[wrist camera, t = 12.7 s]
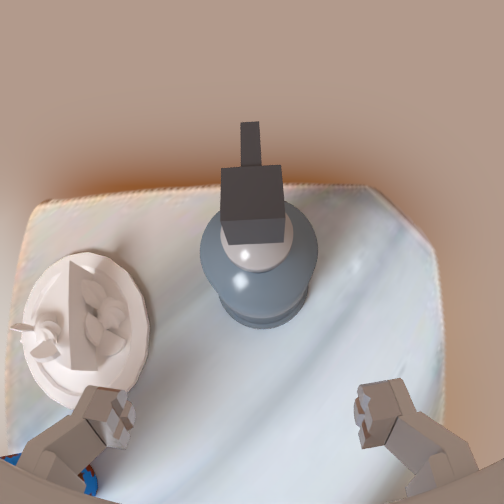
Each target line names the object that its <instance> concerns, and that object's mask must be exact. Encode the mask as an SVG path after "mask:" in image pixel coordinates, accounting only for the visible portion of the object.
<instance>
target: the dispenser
mask: <svg viewBox="0 0 504 504" xmlns="http://www.w3.org/2000/svg"><path fill="white" fill-rule="evenodd" d="M284 204H285V216H286V220H285V232H284V243H265V244H244V245H228V242H227V239H226V237H225V234H224V231H223V228H222V225H221V223H220V211H219V212H217V213H216V215H215V216H214V217H213V218H212V219H211V220H210V222H209V223H208V225H207V227H206V229H205V231H204V233H203V236H202V240H201V245H200V259H201V265H202V268H203V271H204V273H205V275H206V277H207V279H208V280H209V282H210V283H211V285H212V286H213V288H214V289H215V290H216V292H217V293H218V294H219V298H220V301H221V303H222V305H223V307H224V308H225V310H226V311H227V312H228V313H229V315H230V316H231V317H232V318H234V319H235V320H236V321H237V322H239V323H241V324H243V325H245V326H247V327H250V328H255V329H271V328H275V327H278V326H281V325H283V324H285V323H286V322H288V321H289V320H291V319H292V318H293V317H294V316H295V315H296V314H297V313H298V312H299V310H300V309H301V307H302V305H303V303H304V301H305V299H306V295H307V291H308V283H309V280H310V278H311V276H312V274H313V271H314V269H315V266H316V262H317V255H318V244H317V239H316V235H315V232H314V230H313V228H312V226H311V224H310V222H309V221H308V219H307V218H306V217H305V216H304V214H303V213H302V212H300V211H299V210H298V209H297V208H296V207H294V206H293V205H291V204H289V203H287V202H286V201H284Z"/></svg>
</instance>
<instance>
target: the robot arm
mask: <svg viewBox="0 0 504 504" xmlns="http://www.w3.org/2000/svg"><path fill="white" fill-rule="evenodd" d="M357 394H358V398H357V399H355V403H354V419H355V423H356V425H358V426H359V427H360V430H359V433H358V435H359V439H360V443H361V447H362V449H366V448H372V447H377V446H383V445H385V447H386V448H387V449H388V450H389V451H390V452H391V453H392V454H393V455H394V456H396V457H397V458H398V459H399V460H400V461H401V462H402V463H403V464H404V465H405V466H406V467H407V468H408V469H409V470H411V471H412V472H413V473H414V474H415V475H416V476H415V477H414V478H413V479H412V481H411V482H410V483H409V484H408V485H407V487H406V488H405V489H406V493H407V498H403V499H400V500H396V501H392V502H389V503H385V504H504V458H503V459H501V460H500V461H498V462H496V463H494V464H492V465H490V466H488V467H486V468H484V469H481V470H479V469H478V466H477V464H476V462H475V459H474V457H473V454H472V452H471V450H470V448H469V445H468V443H467V442H466V441H464V440H463V439H461V438H460V437H458V436H457V435H455V434H454V433H452V432H451V431H449V430H448V429H446V428H445V427H443V426H442V425H440V424H439V423H437V422H436V421H434V420H433V419H431V418H430V417H428V416H427V415H425V414H424V413H422V412H421V411H420V412H416V409H415V407H414V405H413V402H412V400H411V398H410V395H409V393H408V391H407V388H406V386H405V384H404V382H403V380H402V379H401V378H397V379H392V380H387V381H386V380H384V381H379V382H373V383H368V384H362V385H359V387H358V390H357ZM127 398H128V395H127V393H126V392H125V390H119V389H112V388H106V387H99V386H93V385H88V386H87V387H86V388H85V389H84V391H83V393H82V395H81V397H80V399H79V401H78V403H77V405H76V407H75V409H74V411H73V413H72V415H71V416H70V415H68V416H66V417H65V418H63V419H62V420H60V421H59V422H57V423H56V424H54V425H53V426H51V427H50V428H48V429H47V430H45V431H44V432H42V433H41V434H39V435H38V436H36V437H35V438H33V439H31V440H30V441H28V442H27V444H26V446H25V448H24V450H23V452H22V454H21V456H20V458H19V460H18V462H17V464H16V466H14V465H12V464H10V463H8V462H6V461H4V460H3V459H1V458H0V504H120V503H115V502H112V501H108V500H104V499H101V498H97V497H94V496H90V495H87V494H84V491H85V488H86V484H85V482H84V481H83V480H81V479H80V478H79V477H78V476H77V475H78V474H79V473H80V472H81V471H82V470H83V469H84V468H86V467H87V466H88V465H89V464H90V463H91V462H92V461H93V460H94V459H95V458H96V457H97V456H98V455H99V454H100V453H101V452H102V451H104V450H105V449H106V446H107V447H112V448H118V449H125V450H126V448H127V445H128V441H129V438H130V434H129V432H128V431H129V430H130V429H131V428H132V427H133V426H134V423H135V415H136V413H135V409H134V406H133V404H132V403H130V402H129V401H128V400H127Z"/></svg>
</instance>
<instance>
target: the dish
mask: <svg viewBox="0 0 504 504" xmlns="http://www.w3.org/2000/svg"><path fill="white" fill-rule="evenodd" d="M10 330H15V331H20V332H21V333H22V338H21V340H20V342H21V343H22V344H23V349H24V356H25V359H26V361H27V364H28V366H29V369H30V371H31V373H32V376H33V378H34V380H35V381H36V382H37V384H38V385H39V386H40V387H41V388H42V390H43V391H44V392H45V393H46V394H47V395H48V397H49V398H51V399H52V400H54V401H56V402H58V403H59V404H61V405H63V406H65V407H66V408H68V409H71V410H74V409H75V407H76V405H77V403H78V401H79V399H80V397H81V395H82V393H83V391H84V389H85V388H86V387H87V386H88V385H93V386H99V387H106V388H112V389H119V390H125V392H126V393H127V392H128V391H129V390H130V389H131V388H132V387H133V386H134V385H135V384H136V383H137V380H138V378H139V375H140V373H141V371H142V368H143V366H144V364H145V361H146V359H147V357H148V344H149V333H150V324H149V319H148V315H147V310H146V305H145V301H144V297H143V295H142V293H141V292H140V290H139V288H138V287H137V285H136V283H135V282H134V280H133V278H132V277H131V275H130V274H129V273H128V272H127V271H126V270H124V269H123V268H122V267H120V266H119V265H118V264H117V263H115V262H114V261H113V260H112V259H110V258H109V257H105V256H102V255H98V254H94V253H90V252H84V253H79V254H73V255H68V256H66V257H64V258H62V259H61V260H59V261H57V262H56V263H54V264H53V265H51V266H50V267H48V268H47V270H46V271H45V272H44V273H43V274H42V276H41V277H40V278H39V279H38V281H37V282H36V283H35V284H34V286H33V288H32V291H31V293H30V295H29V298H28V300H27V303H26V305H25V308H24V315H23V323H19V324H15V325H13V326H11V327H10Z"/></svg>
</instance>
